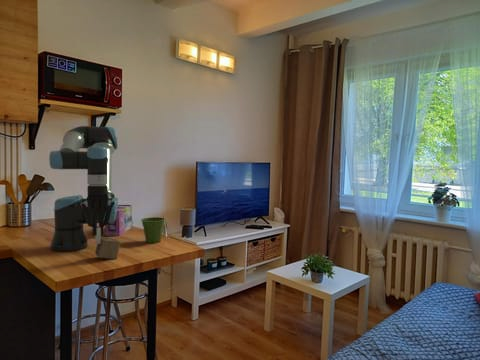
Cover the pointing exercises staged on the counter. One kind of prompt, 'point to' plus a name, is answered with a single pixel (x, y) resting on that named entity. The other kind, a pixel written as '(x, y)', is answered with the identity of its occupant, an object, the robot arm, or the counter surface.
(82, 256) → the counter surface
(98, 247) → the block
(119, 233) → the gum box
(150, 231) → the plant pot
